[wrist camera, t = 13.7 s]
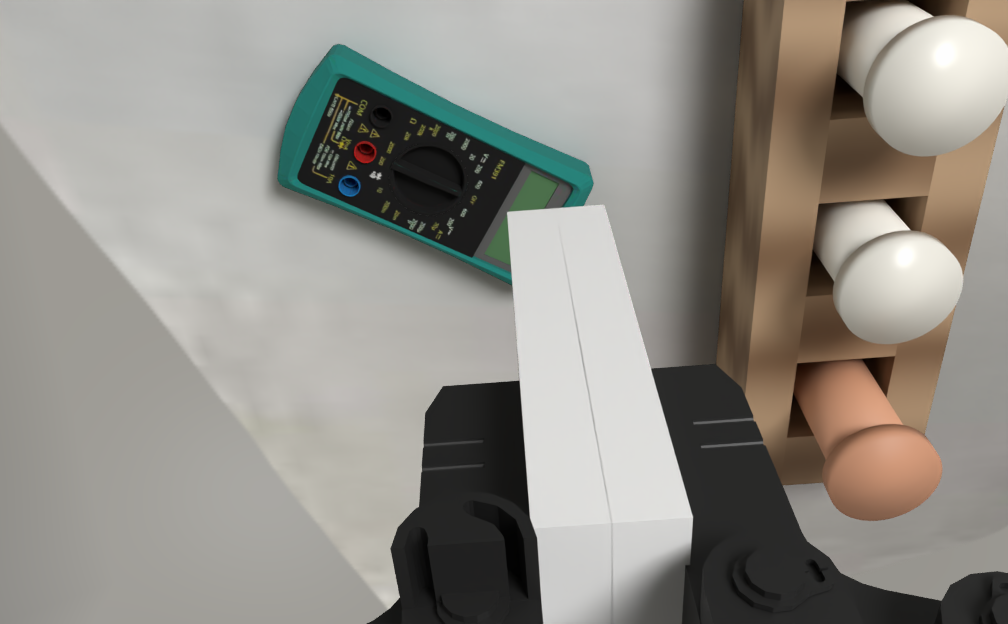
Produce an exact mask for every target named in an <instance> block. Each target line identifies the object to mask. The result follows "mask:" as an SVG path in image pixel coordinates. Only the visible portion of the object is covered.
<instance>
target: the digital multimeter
mask: <svg viewBox="0 0 1008 624" xmlns="http://www.w3.org/2000/svg"><path fill="white" fill-rule="evenodd" d="M350 79H351V80H350ZM361 84H362V85H361ZM363 85H364V86H363ZM365 86H366V87H365ZM367 87H368V88H367ZM369 88H370V89H369ZM371 89H372V90H371ZM380 93H381V94H380ZM382 94H383V95H382ZM384 95H385V96H384ZM392 99H393V100H392ZM399 102H400V103H399ZM401 103H402V104H401ZM403 104H404V105H403ZM405 105H406V106H405ZM407 106H408V107H407ZM409 107H410V108H409ZM411 108H412V109H411ZM413 109H414V110H413ZM422 113H423V114H422ZM424 114H425V115H424ZM426 115H427V116H426ZM428 116H429V117H428ZM430 117H431V118H430ZM432 118H433V119H432ZM434 119H435V120H434ZM443 123H444V124H443ZM445 124H446V125H445ZM447 125H448V126H447ZM449 126H450V127H449ZM451 127H452V128H451ZM453 128H454V129H453ZM455 129H456V130H455ZM464 133H465V134H464ZM466 134H467V135H466ZM468 135H469V136H468ZM470 136H471V137H470ZM472 137H473V138H472ZM474 138H475V139H474ZM476 139H477V140H476ZM485 143H486V144H485ZM416 144H417V145H416ZM487 144H488V145H487ZM489 145H490V146H489ZM491 146H492V147H491ZM408 147H409V148H408ZM493 147H494V148H493ZM495 148H496V149H495ZM402 151H403V152H402ZM506 153H507V154H506ZM508 154H509V155H508ZM510 155H511V156H510ZM512 156H513V157H512ZM396 157H397V158H396ZM514 157H515V158H514ZM516 158H517V159H516ZM392 163H393V164H392ZM467 175H468V176H467ZM278 181H279V183H280V184H281V185H282V186H283V187H285V188H288V189H290V190H293V191H296V192H298V193H301V194H304V195H306V196H309V197H312V198H314V199H317V200H320V201H322V202H325V203H328V204H330V205H333V206H336V207H338V208H341V209H343V210H346V211H348V212H351V213H353V214H356V215H358V216H361V217H363V218H366V219H368V220H371V221H373V222H376V223H378V224H381V225H383V226H386V227H388V228H390V229H393V230H395V231H398V232H400V233H402V234H404V235H407V236H409V237H411V238H413V239H416V240H418V241H420V242H422V243H424V244H427V245H429V246H431V247H433V248H436V249H438V250H440V251H442V252H444V253H447V254H449V255H451V256H453V257H455V258H457V259H459V260H462V261H464V262H466V263H468V264H470V265H472V266H474V267H476V268H478V269H480V270H482V271H484V272H486V273H488V274H490V275H492V276H494V277H496V278H498V279H500V280H502V281H504V282H506V283H508V284H510V285H512V273H511V259H510V246H509V232H508V218H507V212H512V211H525V210H539V209H552V208H566V207H579V206H584V204H585V202H586V200H587V198H588V196H589V194H590V192H591V190H592V187H593V184H594V183H593V180H592V176H591V172H590V169H589V165H587V164H586V163H585V162H583V161H581V160H579V159H576V158H574V157H571V156H569V155H567V154H564V153H562V152H560V151H557V150H555V149H553V148H550V147H548V146H546V145H543V144H541V143H539V142H536V141H534V140H532V139H529V138H527V137H525V136H522V135H520V134H518V133H515V132H513V131H511V130H509V129H507V128H504V127H502V126H500V125H498V124H496V123H494V122H492V121H490V120H487V119H485V118H483V117H481V116H479V115H477V114H475V113H472V112H470V111H468V110H466V109H464V108H462V107H460V106H457V105H455V104H453V103H451V102H450V101H448V100H446V99H444V98H442V97H440V96H438V95H436V94H434V93H432V92H430V91H428V90H426V89H425V88H423V87H421V86H419V85H417V84H415V83H413V82H411V81H409V80H407V79H405V78H403V77H401V76H399V75H398V74H396V73H394V72H392V71H390V70H388V69H386V68H385V67H383V66H381V65H379V64H377V63H376V62H374V61H372V60H370V59H368V58H366V57H365V56H363V55H361V54H359V53H357V52H355V51H354V50H352V49H350V48H348V47H346V46H345V45H340V44H337V45H334V46H333V47H332V48H331V49H330V51H329V52H328V53H327V54H326V56H325V57H324V58H323V60H322V61H321V62H320V64H319V65H318V66H317V67H316V69H315V70H314V72H313V73H312V75H311V76H310V78H309V80H308V81H307V83H306V84H305V86H304V87H303V89H302V91H301V92H300V94H299V96H298V98H297V100H296V102H295V105H294V107H293V110H292V112H291V114H290V117H289V119H288V122H287V124H286V127H285V132H284V137H283V142H282V146H281V152H280V161H279V169H278ZM466 189H467V190H466ZM572 189H573V190H572ZM391 190H392V191H391ZM571 191H572V192H571ZM569 194H570V195H569ZM566 199H567V200H566ZM459 202H460V203H459ZM449 210H450V211H449ZM447 211H448V212H447ZM442 213H443V214H442ZM420 214H421V215H420ZM427 215H429V216H427Z"/></svg>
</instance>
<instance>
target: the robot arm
mask: <svg viewBox="0 0 1008 624" xmlns="http://www.w3.org/2000/svg"><path fill="white" fill-rule="evenodd" d="M507 218H508V232H509V246H510V259H511V273H512V287H513V301H514V315H515V329H516V343H517V357H518V370H519V381H510V382H496V383H482V384H468V385H454V386H443V387H442V389H441V390H440V392H439V393H438V395H437V396H436V398H435V399H434V401H433V402H432V404H431V405H430V407H429V408H428V410H427V411H426V413H425V428H424V448H423V457H422V472H421V487H420V502H419V507H418V508H416V509H415V510H414V511H413V512H412V513H411V514H410V515H409V516H408V517H407V518H406V519H405V520H404V522H403V523H402V524H401V525H400V526H399V527H398V529H397V532H396V535H395V537H394V540H393V543H392V546H391V553H392V558H393V564H394V569H395V574H396V579H397V584H398V590H399V595H400V598H399V599H398V600H397V601H396V603H395V604H394V605H393V606H392V607H391V608H390V609H389V610H387V611H386V612H385V613H383V614H382V615H381V616H379V617H378V618H376V619H375V620H374V621H372V622H370V623H367V624H1008V573H1004V572H998V571H997V572H987V573H977V574H970V575H968V576H966V577H964V578H963V579H961V580H959V581H957V582H955V583H953V584H952V585H950V587H949V589H948V591H947V593H946V594H945V596H944V598H943V600H942V601H939V600H934V599H929V598H923V597H919V596H914V595H908V594H903V593H898V592H893V591H887V590H883V589H880V588H876V587H873V586H869V585H866V584H862V583H860V582H858V581H856V580H854V579H852V578H850V577H848V576H845V575H843V574H841V573H840V572H839V571H838V569H837V568H836V566H835V565H834V563H833V562H832V561H831V559H830V558H829V557H828V556H827V555H825V554H824V553H822V552H821V551H820V550H818V549H817V548H815V547H814V546H813V545H811V544H810V543H809V542H807V540H806V539H805V537H804V535H803V534H802V532H801V529H800V527H799V524H798V522H797V520H796V517H795V515H794V512H793V510H792V508H791V505H790V503H789V500H788V498H787V496H786V493H785V491H784V488H783V486H782V483H781V481H780V479H779V476H778V474H777V471H776V469H775V467H774V464H773V462H772V459H771V457H770V455H769V452H768V450H767V447H766V445H764V444H763V438H762V435H761V433H760V430H759V428H758V426H757V423H756V422H754V418H753V414H752V411H751V409H750V406H749V404H748V402H747V399H746V397H745V394H744V392H743V389H742V387H741V386H739V385H738V384H737V383H736V382H735V381H734V380H733V379H732V378H730V377H729V376H728V375H727V374H726V373H725V372H724V371H723V370H721V369H720V368H719V367H718V366H717V365H716V364H710V365H696V366H682V367H668V368H654V369H651V368H650V364H649V360H648V357H647V353H646V350H645V346H644V343H643V339H642V336H641V332H640V329H639V325H638V322H637V318H636V315H635V311H634V308H633V304H632V301H631V297H630V294H629V290H628V286H627V283H626V279H625V276H624V272H623V269H622V265H621V262H620V258H619V255H618V251H617V248H616V244H615V241H614V237H613V234H612V230H611V227H610V223H609V220H608V216H607V212H606V209H605V205H593V206H579V207H566V208H552V209H539V210H525V211H512V212H507Z"/></svg>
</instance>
